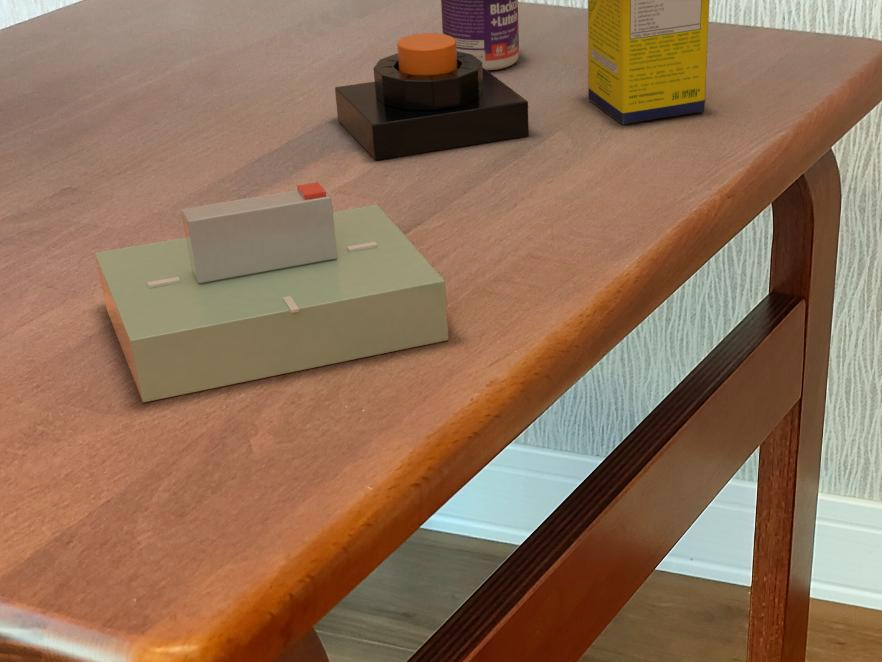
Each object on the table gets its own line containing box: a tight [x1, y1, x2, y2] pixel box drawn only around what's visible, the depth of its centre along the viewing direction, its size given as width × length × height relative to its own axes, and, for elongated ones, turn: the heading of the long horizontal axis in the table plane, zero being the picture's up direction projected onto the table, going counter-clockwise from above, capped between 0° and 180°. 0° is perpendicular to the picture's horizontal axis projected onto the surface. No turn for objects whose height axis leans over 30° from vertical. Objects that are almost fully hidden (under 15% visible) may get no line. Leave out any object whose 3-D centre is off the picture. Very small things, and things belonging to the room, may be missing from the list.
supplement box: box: [587, 0, 710, 125], centre depth 88 cm, size 6×6×11 cm
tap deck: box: [94, 204, 449, 403], centre depth 65 cm, size 14×11×3 cm
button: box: [396, 32, 457, 75], centre depth 86 cm, size 4×4×2 cm
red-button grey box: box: [181, 181, 338, 283], centre depth 64 cm, size 6×2×3 cm, turn 113°
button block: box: [334, 51, 530, 161], centre depth 87 cm, size 10×8×4 cm
